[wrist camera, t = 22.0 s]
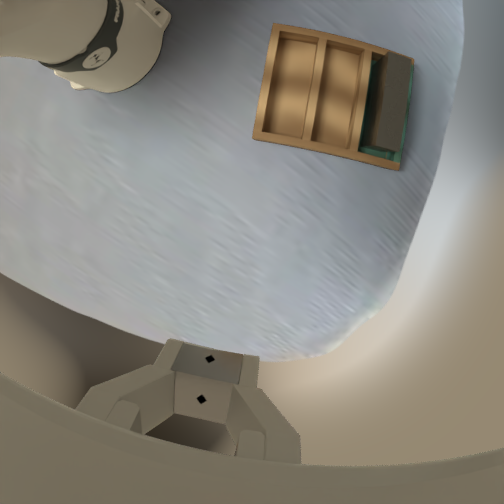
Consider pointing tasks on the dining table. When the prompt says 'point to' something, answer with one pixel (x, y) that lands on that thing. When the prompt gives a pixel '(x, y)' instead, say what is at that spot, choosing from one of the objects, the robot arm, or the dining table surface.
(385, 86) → the panel
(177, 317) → the dining table surface
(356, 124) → the rack
